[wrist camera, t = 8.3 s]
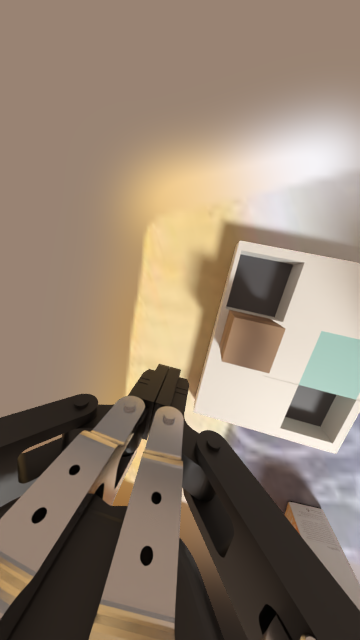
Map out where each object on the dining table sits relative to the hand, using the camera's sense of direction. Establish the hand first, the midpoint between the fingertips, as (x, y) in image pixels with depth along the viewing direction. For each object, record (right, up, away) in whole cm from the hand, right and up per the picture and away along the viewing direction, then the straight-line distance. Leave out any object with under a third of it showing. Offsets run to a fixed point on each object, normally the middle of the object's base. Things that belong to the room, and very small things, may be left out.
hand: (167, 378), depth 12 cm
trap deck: (+15, 0, +13) cm, 20 cm away
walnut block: (+9, +2, +11) cm, 14 cm away
